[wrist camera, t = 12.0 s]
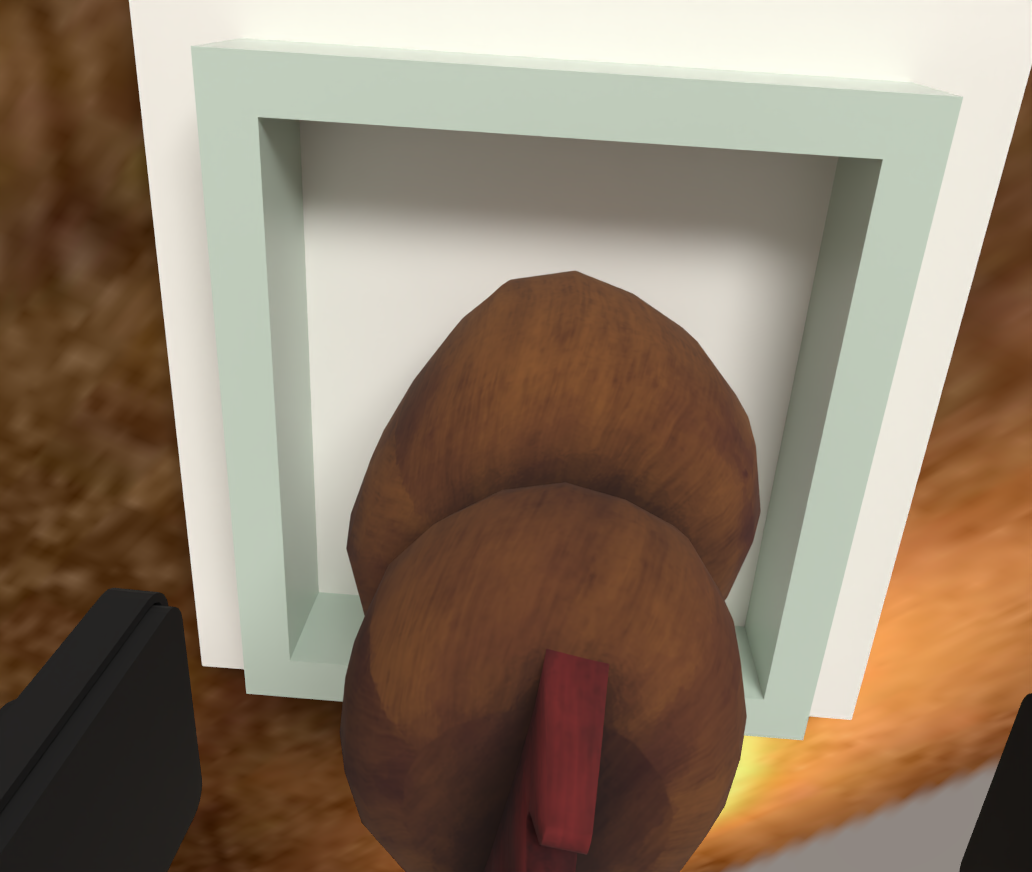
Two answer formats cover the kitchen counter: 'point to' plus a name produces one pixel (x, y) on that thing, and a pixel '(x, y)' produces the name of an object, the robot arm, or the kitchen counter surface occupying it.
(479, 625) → the wooden figurine
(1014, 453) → the kitchen counter surface
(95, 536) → the kitchen counter surface
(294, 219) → the ceramic stand
